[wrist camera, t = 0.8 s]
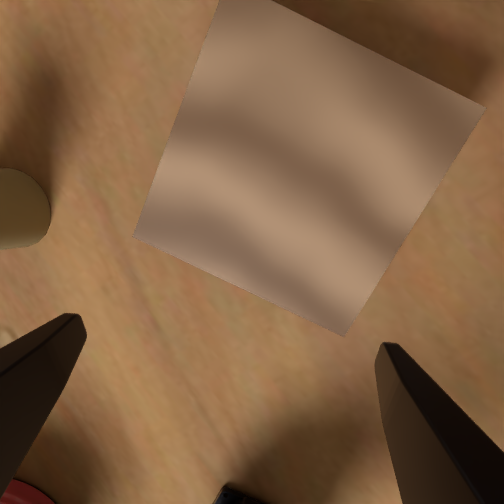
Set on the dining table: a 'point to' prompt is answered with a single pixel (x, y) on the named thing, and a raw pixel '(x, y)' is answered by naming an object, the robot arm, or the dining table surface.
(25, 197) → the olive game pawn
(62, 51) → the dining table surface
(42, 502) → the canister
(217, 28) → the tan square slab
